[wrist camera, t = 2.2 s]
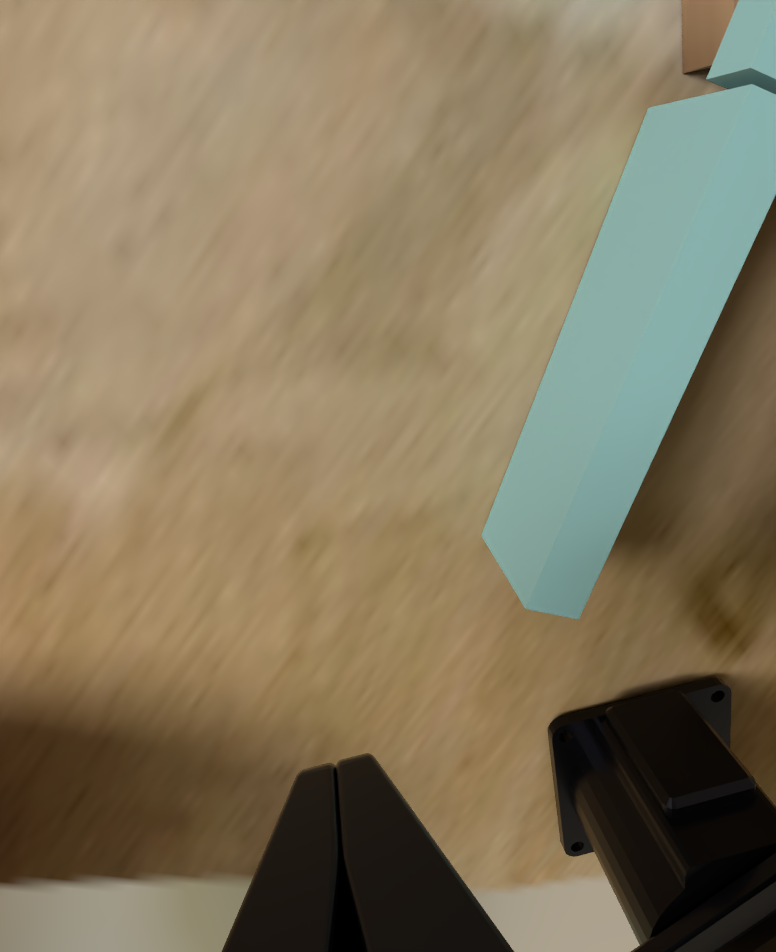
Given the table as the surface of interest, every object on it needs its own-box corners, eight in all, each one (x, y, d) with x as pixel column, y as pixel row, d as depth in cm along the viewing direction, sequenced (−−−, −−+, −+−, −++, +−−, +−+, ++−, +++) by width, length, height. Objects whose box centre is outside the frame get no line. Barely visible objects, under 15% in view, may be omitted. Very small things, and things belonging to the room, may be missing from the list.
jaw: (706, -48, 16) (837, -120, 12) (761, -21, 16) (903, -83, 13) (479, 534, 21) (523, 608, 17) (525, 545, 21) (578, 619, 17)
